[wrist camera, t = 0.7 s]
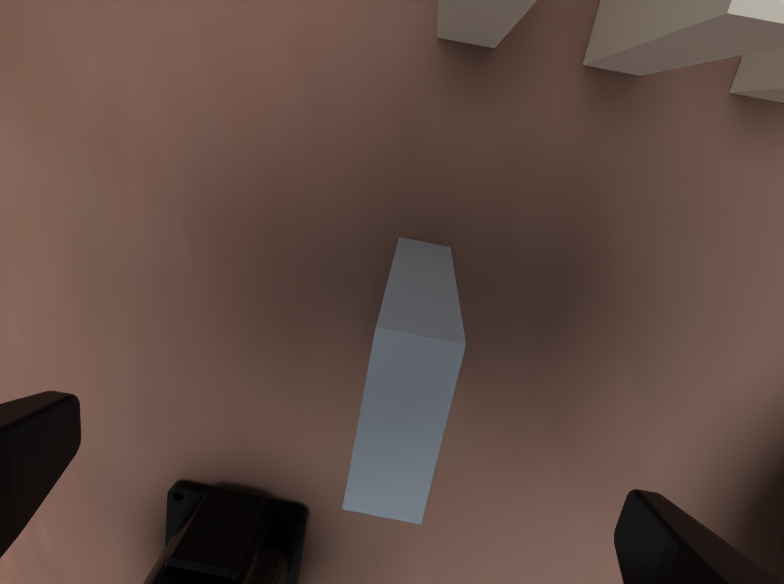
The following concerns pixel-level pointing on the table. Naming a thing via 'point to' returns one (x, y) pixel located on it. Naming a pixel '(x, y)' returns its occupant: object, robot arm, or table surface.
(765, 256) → the table surface
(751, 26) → the domino
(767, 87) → the domino
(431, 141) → the table surface
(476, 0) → the domino
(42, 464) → the robot arm
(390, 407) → the domino
